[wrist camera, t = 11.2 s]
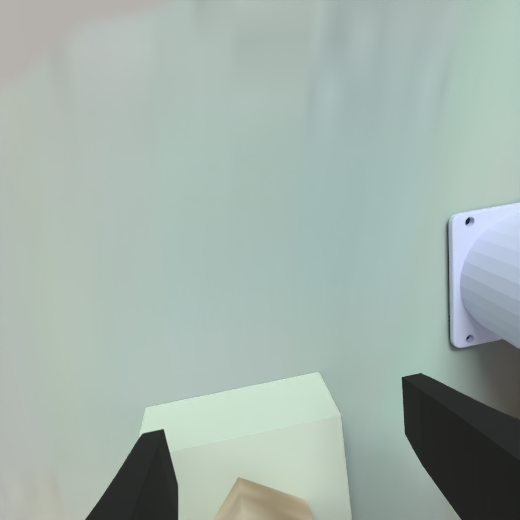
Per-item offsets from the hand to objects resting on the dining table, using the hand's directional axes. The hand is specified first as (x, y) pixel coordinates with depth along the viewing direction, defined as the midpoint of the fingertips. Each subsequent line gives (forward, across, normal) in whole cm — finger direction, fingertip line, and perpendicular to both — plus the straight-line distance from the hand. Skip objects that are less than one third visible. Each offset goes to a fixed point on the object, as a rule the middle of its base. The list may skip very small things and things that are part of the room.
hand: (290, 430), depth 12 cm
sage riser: (+10, +2, +10) cm, 15 cm away
